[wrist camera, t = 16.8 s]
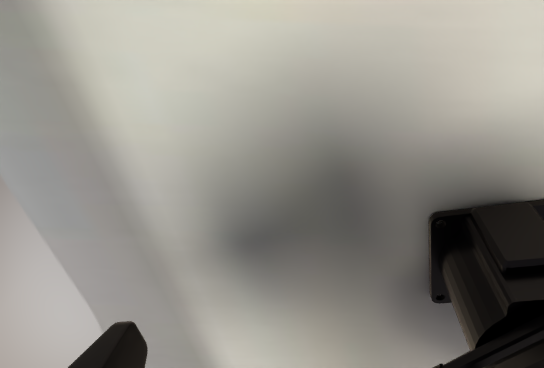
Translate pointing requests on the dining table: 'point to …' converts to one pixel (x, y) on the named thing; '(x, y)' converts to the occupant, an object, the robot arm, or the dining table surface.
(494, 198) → the dining table surface
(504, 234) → the robot arm
